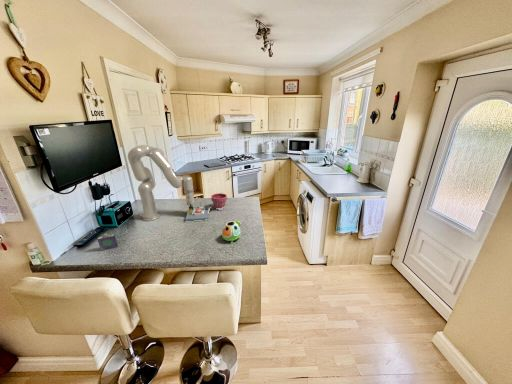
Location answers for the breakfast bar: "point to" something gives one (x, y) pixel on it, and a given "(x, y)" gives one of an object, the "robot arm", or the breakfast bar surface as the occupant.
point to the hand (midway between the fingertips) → (191, 210)
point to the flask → (107, 242)
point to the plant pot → (219, 200)
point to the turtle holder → (231, 231)
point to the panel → (198, 214)
